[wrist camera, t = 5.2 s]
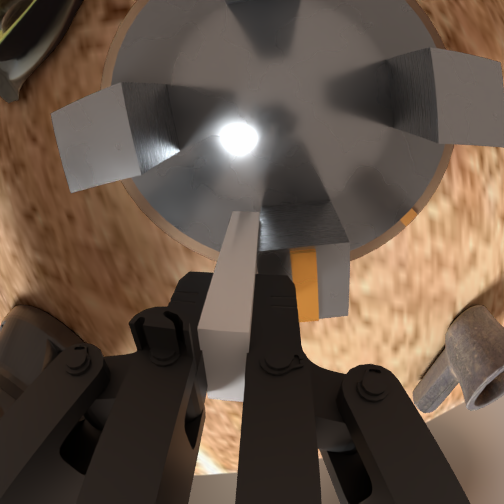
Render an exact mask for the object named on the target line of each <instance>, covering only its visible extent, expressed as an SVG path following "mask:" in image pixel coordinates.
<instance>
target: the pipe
mask: <svg viewBox="0 0 504 504" xmlns="http://www.w3.org/2000/svg"><path fill="white" fill-rule="evenodd" d="M445 344H446V348H445V349H444V350H443V352H442V353H441V354H440V355H439V357H438V358H437V360H436V361H435V362H434V363H433V365H432V366H431V368H430V369H429V370H428V372H427V373H426V374H425V376H424V377H423V378H422V380H421V381H420V382H419V384H418V385H417V386H416V388H415V389H414V391H413V400H414V404H415V405H416V407H417V408H418V409H419V410H420V411H422V412H423V413H430V412H433V411H434V410H435V409H436V408H437V407H438V406H439V405H440V404H441V403H442V402H443V401H444V400H445V398H446V397H447V396H448V395H449V394H450V392H451V391H452V390H453V389H454V388H455V386H456V385H457V384H458V383H460V386H461V388H462V392H463V395H464V399H465V403H466V408H467V409H468V410H470V411H472V410H478V409H480V408H483V407H485V406H487V405H489V404H490V403H492V402H494V401H496V400H497V399H498V398H500V397H502V396H503V395H504V327H503V326H501V325H500V323H499V322H498V321H497V320H496V319H495V318H494V317H493V316H492V315H491V313H490V312H489V311H488V310H487V308H486V307H485V306H484V305H476V306H473V307H470V308H468V309H467V310H465V311H464V312H462V313H461V314H460V315H459V316H458V317H457V318H456V319H455V321H454V322H453V323H452V324H451V326H450V327H449V329H448V331H447V333H446V336H445Z"/></svg>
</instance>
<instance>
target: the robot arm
mask: <svg viewBox="0 0 504 504" xmlns="http://www.w3.org/2000/svg"><path fill="white" fill-rule="evenodd" d="M259 219H260V212H244V211H233V212H232V216H231V219H230V222H229V225H228V228H227V231H226V235H225V238H224V241H223V244H222V247H221V251H220V254H219V257H218V260H217V264H216V267H215V270H214V273H208V272H191V271H190V272H188V273H187V274H186V275H185V276H184V277H183V278H181V279H180V280H179V282H178V284H177V286H176V289H175V293H173V295H172V298H171V302H169V305H168V307H153V308H150V309H146V310H144V311H142V312H140V313H138V314H137V315H135V316H134V317H133V319H132V320H131V321H130V322H129V326H130V329H131V332H132V335H133V338H134V341H135V344H136V347H137V352H135V353H131V354H126V355H118V356H107V357H103V355H102V352H101V350H100V349H98V348H97V347H96V346H95V345H92V344H88V343H84V342H83V341H82V340H81V339H80V338H79V337H78V336H77V335H76V334H75V333H73V332H72V331H71V330H70V329H69V328H68V327H66V326H65V325H64V324H62V323H61V322H60V321H58V320H57V319H56V318H54V317H52V316H51V315H49V314H48V313H46V312H44V311H42V310H40V309H38V308H35V307H32V306H29V305H17V306H15V307H14V308H13V309H12V310H11V311H10V312H9V313H8V314H7V316H6V317H5V318H4V319H3V321H2V323H1V326H0V504H188V502H189V497H190V492H191V486H192V482H193V476H194V471H195V466H196V461H197V456H198V451H199V446H200V441H201V436H202V431H203V426H204V422H205V406H204V402H205V397H206V392H207V394H208V398H210V399H220V400H226V401H240V402H243V412H242V425H241V438H240V450H239V463H238V476H237V488H236V501H235V504H321V487H320V473H319V459H318V449H319V450H320V452H321V455H322V457H323V460H324V462H325V465H326V467H327V470H328V473H329V475H330V478H331V481H332V483H333V486H334V488H335V491H336V493H337V496H338V499H339V501H340V504H470V502H469V500H468V498H467V496H466V494H465V492H464V491H463V489H462V487H461V485H460V483H459V481H458V480H457V478H456V476H455V474H454V472H453V470H452V469H451V467H450V465H449V463H448V462H447V460H446V458H445V456H444V454H443V453H442V451H441V449H440V447H439V446H438V444H437V442H436V440H435V439H434V437H433V435H432V434H431V432H430V430H429V429H428V427H427V425H426V424H425V422H424V420H423V419H422V417H421V415H420V414H419V412H418V410H417V409H416V407H415V406H414V404H413V402H412V401H411V399H410V398H409V396H408V394H407V393H406V391H405V390H404V388H403V386H402V385H401V383H400V382H399V380H398V379H397V378H396V377H395V375H394V374H393V373H392V372H391V371H389V370H387V369H385V368H384V367H382V366H378V365H373V364H365V365H359V366H357V367H354V368H352V369H350V370H349V372H348V373H347V374H342V373H338V372H334V371H330V370H327V369H324V368H321V367H319V366H317V365H316V364H314V363H312V362H311V361H310V360H309V359H308V358H307V356H306V354H305V353H304V352H303V350H302V346H301V337H300V327H299V316H298V309H297V299H296V288H295V284H294V283H293V282H292V280H291V279H290V278H289V277H288V275H267V274H258V270H257V264H256V260H257V243H258V231H259Z"/></svg>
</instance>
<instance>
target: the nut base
mask: <svg viewBox="0 0 504 504" xmlns="http://www.w3.org/2000/svg"><path fill="white" fill-rule="evenodd" d="M148 1H149V0H137V1H136V3H135V4H134V5H133V6H132V7H131V9H130V10H129V12H128V14H127V15H126V17H125V18H124V20H123V21H122V23H121V25H120V26H119V28H118V30H117V32H116V34H115V37H114V39H113V41H112V43H111V46H110V48H109V51H108V55H107V58H106V61H105V65H104V69H103V75H102V82H101V89H100V90H102V89H105V88H107V87H110V86H111V82H112V74H113V70H114V66H115V62H116V58H117V55H118V52H119V49H120V47H121V44H122V42H123V40H124V37H125V35H126V33H127V31H128V29H129V28H130V26H131V24H132V23H133V21H134V20H135V18H136V16H137V15H138V13H139V12H140V11H141V10H142V8H143V7H144V6H145V5H146V4H147V2H148ZM405 1H406V2H407V3H408V4H409V5H410V7H411V8H412V9H413V10H414V11H415V13H416V14H417V15H418V16H419V18H420V19H421V21H422V22H423V24H424V25H425V27H426V29H427V30H428V32H429V34H430V35H431V37H432V39H433V41H434V44H435V46H436V48H439V49H445V47H444V44H443V42H442V40H441V37H440V36H439V34H438V32H437V30H436V29H435V27H434V25H433V24H432V22H431V20H430V19H429V17H428V16H427V15H426V13H425V12H424V11H423V9H422V8H421V7H420V6H419V4H418V3H417V2H416V1H415V0H405ZM445 50H446V49H445ZM453 147H454V144H445V146H444V150H443V154H442V157H441V160H440V162H439V165H438V167H437V169H436V172H435V174H434V176H433V178H432V180H431V181H430V183H429V185H428V186H427V188H426V190H425V191H424V193H423V195H422V196H421V197H420V198H419V200H418V201H417V202H416V203H415V205H414V206H413V207H412V208H411V210H410V211H409V212H408V213H407V214H406V215H405V216H403V217H402V218H401V219H400V220H399V221H398V222H397V223H396V224H395V225H394V226H392V227H391V228H390V229H388V230H387V231H386V232H384V233H383V234H382V235H380V236H379V237H377V238H375V239H374V240H372V241H370V242H368V243H366V244H365V245H363V246H361V247H359V248H356V249H354V250H351V251H350V261H352V260H355V259H357V258H360V257H362V256H364V255H366V254H368V253H369V252H371V251H373V250H375V249H377V248H379V247H380V246H382V245H383V244H385V243H386V242H388V241H389V240H391V239H392V238H393V237H395V236H396V235H397V234H399V233H400V232H401V231H402V230H403V229H404V228H405V227H406V226H407V225H409V224H410V223H411V222H412V221H413V220H414V219H415V217H416V216H417V215H418V214H419V213H420V212H421V210H422V209H423V208H424V207H425V206H426V204H427V203H428V201H429V200H430V198H431V197H432V195H433V194H434V192H435V191H436V189H437V188H438V186H439V184H440V182H441V179H442V177H443V175H444V173H445V171H446V169H447V166H448V163H449V160H450V157H451V154H452V150H453ZM121 182H122V183H123V185H124V187H125V189H126V190H127V192H128V193H129V195H130V196H131V197H132V199H133V200H134V201H135V203H136V204H137V205H138V207H139V208H140V209H141V210H142V211H143V212H144V213H145V214H146V215H147V216H148V217H149V218H150V219H151V221H152V222H153V223H154V224H155V225H156V226H158V227H159V228H160V229H161V230H163V231H164V232H165V233H166V234H168V235H169V236H170V237H171V238H173V239H174V240H176V241H177V242H179V243H181V244H182V245H184V246H185V247H187V248H189V249H190V250H192V251H194V252H196V253H198V254H200V255H203V256H205V257H207V258H209V259H211V260H214V261H217V260H218V257H219V254H220V252H218V251H216V250H214V249H212V248H209V247H207V246H205V245H202V244H200V243H199V242H197V241H195V240H194V239H192V238H190V237H189V236H187V235H185V234H183V233H182V232H181V231H179V230H178V229H177V228H175V227H174V226H173V225H172V224H170V223H169V222H168V221H166V220H165V219H164V218H163V217H162V216H161V215H160V214H159V213H158V212H157V211H156V210H155V209H154V208H153V207H152V206H151V205H150V204H149V202H148V201H147V200H146V199H145V197H144V196H143V195H142V194H141V192H140V191H139V190H138V188H137V187H136V185H135V183H134V182H133V180H132V178H126V179H122V180H121Z"/></svg>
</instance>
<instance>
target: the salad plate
mask: <svg viewBox="0 0 504 504" xmlns="http://www.w3.org/2000/svg"><path fill="white" fill-rule="evenodd" d="M82 1H83V0H0V96H1V97H2V98H3V99H4V100H5V101H6V102H8V103H11V102H13V101H17V100H18V98H19V91H20V88H21V86H22V85H23V83H24V82H25V80H26V79H27V78H28V76H29V75H30V74H31V73H32V72H33V71H34V70H35V69H36V68H37V67H38V66H39V65H40V64H41V63H42V62H43V61H44V60H45V59H46V58H47V56H48V55H49V54H50V53H51V52H52V51H53V50H54V49H55V48H56V46H57V45H58V44H59V42H60V41H61V39H62V38H63V36H64V35H65V33H66V31H67V30H68V28H69V26H70V24H71V22H72V20H73V18H74V16H75V14H76V12H77V10H78V8H79V7H80V5H81V3H82Z"/></svg>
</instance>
